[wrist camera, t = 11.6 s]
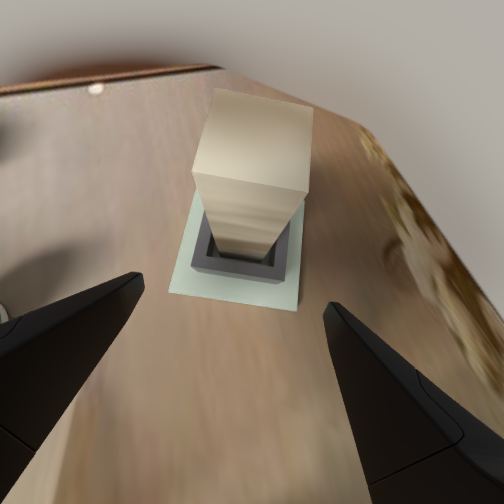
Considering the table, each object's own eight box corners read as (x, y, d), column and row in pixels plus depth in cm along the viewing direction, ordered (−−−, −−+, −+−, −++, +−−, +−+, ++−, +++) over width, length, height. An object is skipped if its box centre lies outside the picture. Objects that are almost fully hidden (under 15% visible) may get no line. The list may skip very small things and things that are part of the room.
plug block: (260, 263, 18) (308, 192, 6) (220, 256, 17) (191, 171, 6) (264, 226, 19) (313, 107, 7) (227, 220, 19) (214, 87, 7)
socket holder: (292, 310, 18) (309, 313, 14) (172, 292, 17) (153, 290, 13) (300, 205, 21) (316, 183, 17) (200, 187, 21) (191, 160, 17)
